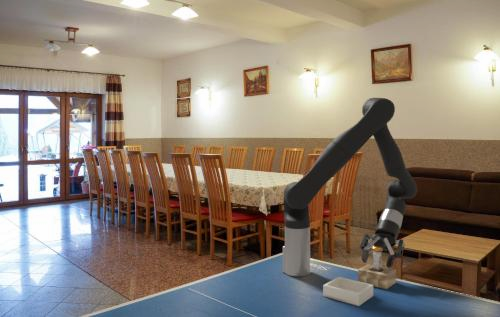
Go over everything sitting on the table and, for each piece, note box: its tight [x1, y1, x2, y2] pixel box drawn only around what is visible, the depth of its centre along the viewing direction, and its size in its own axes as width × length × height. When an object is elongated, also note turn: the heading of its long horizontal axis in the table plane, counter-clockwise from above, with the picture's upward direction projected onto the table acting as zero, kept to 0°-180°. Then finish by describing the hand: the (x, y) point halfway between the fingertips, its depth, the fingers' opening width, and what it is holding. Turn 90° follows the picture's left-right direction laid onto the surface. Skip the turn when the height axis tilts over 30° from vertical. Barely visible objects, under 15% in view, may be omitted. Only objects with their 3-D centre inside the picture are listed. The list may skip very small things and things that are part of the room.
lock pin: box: [372, 245, 383, 272], centre depth 142 cm, size 3×3×12 cm
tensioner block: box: [357, 263, 397, 290], centre depth 142 cm, size 10×8×4 cm
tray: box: [322, 276, 374, 307], centre depth 130 cm, size 12×10×4 cm
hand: (375, 264), depth 141 cm, fingers open, 8 cm apart
